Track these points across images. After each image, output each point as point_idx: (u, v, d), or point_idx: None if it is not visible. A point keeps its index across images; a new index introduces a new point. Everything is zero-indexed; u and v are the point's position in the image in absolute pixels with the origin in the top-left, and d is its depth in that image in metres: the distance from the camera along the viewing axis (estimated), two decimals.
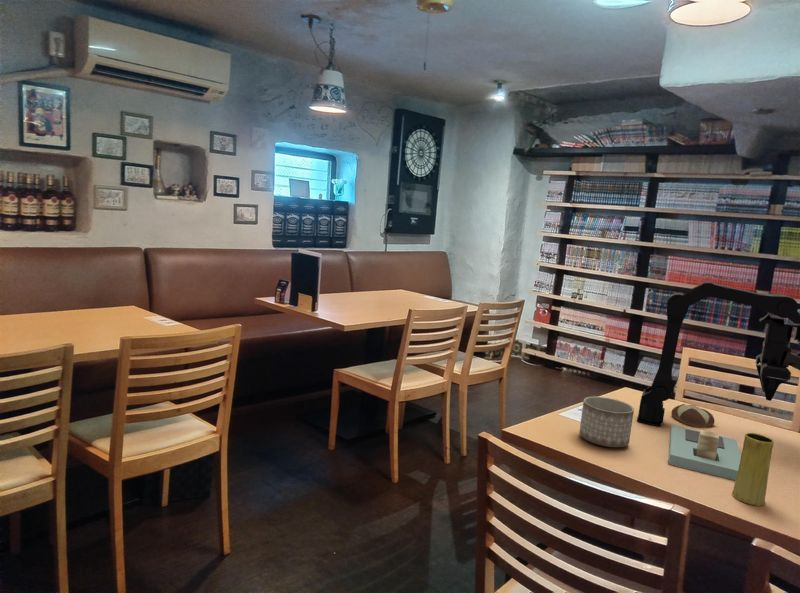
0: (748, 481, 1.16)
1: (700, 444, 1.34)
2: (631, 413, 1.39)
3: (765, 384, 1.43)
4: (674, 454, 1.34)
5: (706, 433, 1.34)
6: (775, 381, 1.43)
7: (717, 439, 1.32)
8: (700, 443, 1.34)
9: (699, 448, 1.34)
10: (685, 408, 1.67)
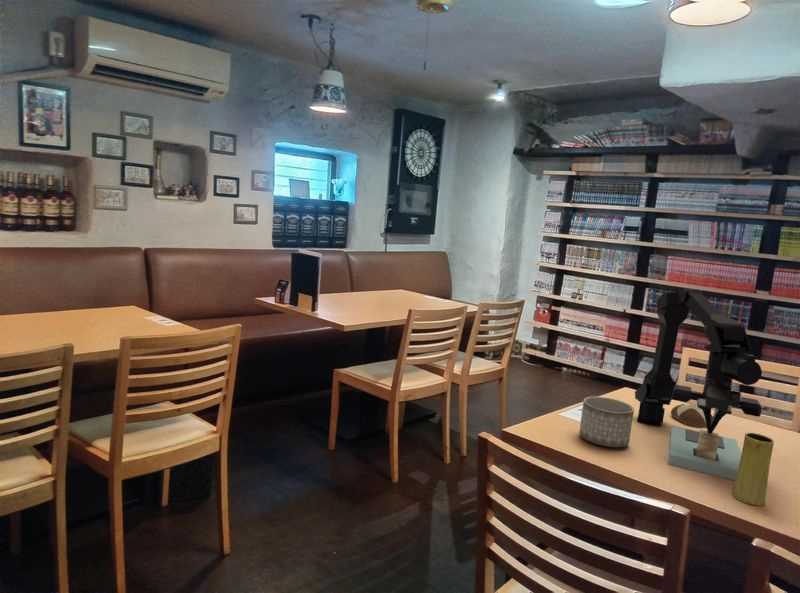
0: (748, 481, 1.16)
1: (700, 444, 1.34)
2: (631, 413, 1.39)
3: None
4: (674, 454, 1.34)
5: (706, 433, 1.34)
6: None
7: (717, 439, 1.32)
8: (700, 443, 1.34)
9: (699, 448, 1.34)
10: (684, 408, 1.67)
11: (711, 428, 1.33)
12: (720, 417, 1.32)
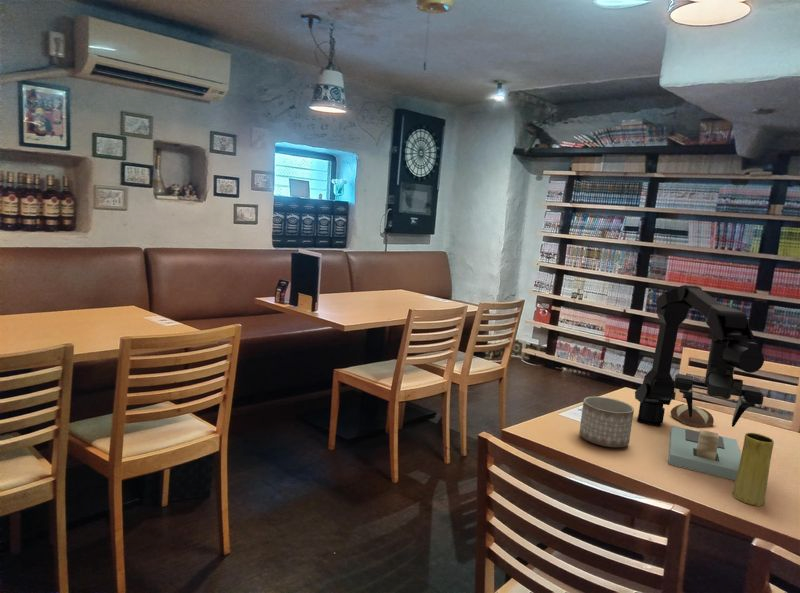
0: (748, 481, 1.16)
1: (700, 444, 1.34)
2: (631, 413, 1.39)
3: None
4: (674, 454, 1.34)
5: (706, 433, 1.34)
6: None
7: (717, 439, 1.32)
8: (700, 443, 1.34)
9: (699, 448, 1.34)
10: (684, 408, 1.67)
11: (734, 421, 1.31)
12: (743, 410, 1.29)
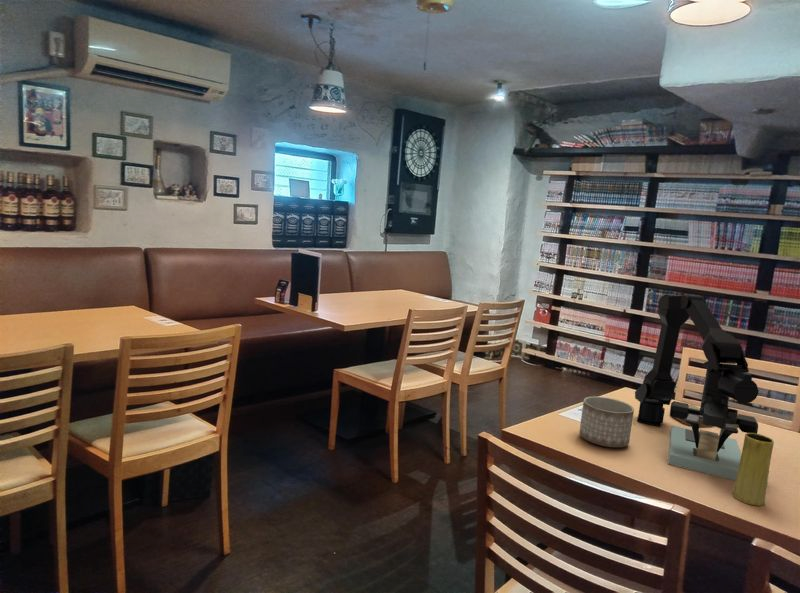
0: (748, 481, 1.16)
1: (700, 444, 1.34)
2: (631, 413, 1.39)
3: None
4: (674, 454, 1.34)
5: (706, 433, 1.34)
6: None
7: (717, 439, 1.32)
8: (700, 443, 1.34)
9: (699, 448, 1.34)
10: None
11: (718, 447, 1.33)
12: (726, 436, 1.31)
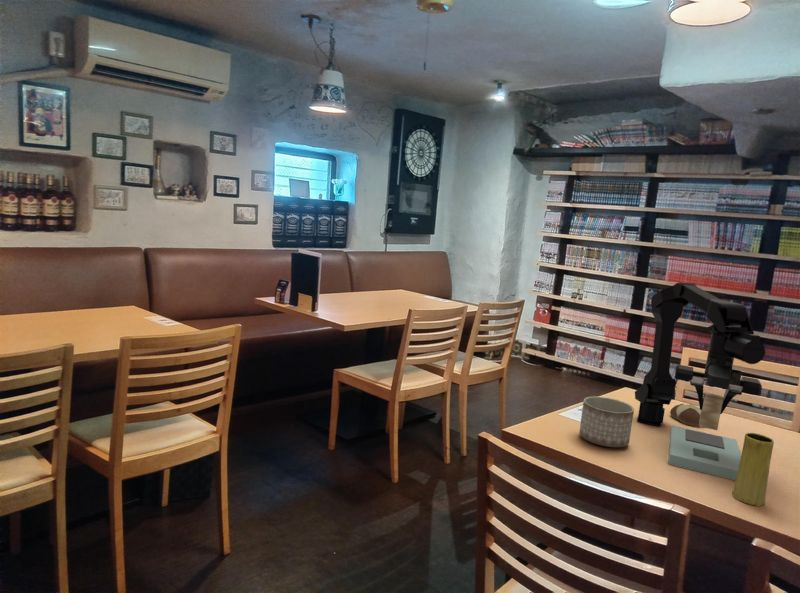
0: (748, 481, 1.16)
1: (704, 406, 1.36)
2: (631, 413, 1.39)
3: None
4: (674, 454, 1.34)
5: (710, 395, 1.37)
6: None
7: (721, 401, 1.34)
8: (704, 405, 1.36)
9: (703, 410, 1.36)
10: (684, 408, 1.67)
11: (721, 409, 1.36)
12: (730, 398, 1.34)
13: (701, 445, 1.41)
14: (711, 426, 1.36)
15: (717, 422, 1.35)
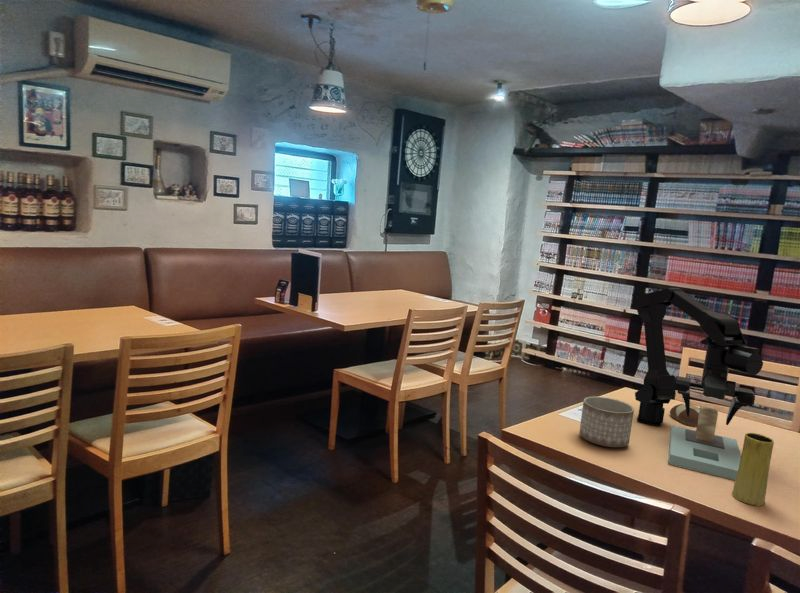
0: (748, 481, 1.16)
1: (700, 419, 1.44)
2: (631, 413, 1.39)
3: None
4: (674, 454, 1.34)
5: (706, 409, 1.45)
6: None
7: (716, 414, 1.42)
8: (700, 418, 1.44)
9: (699, 423, 1.44)
10: (683, 408, 1.67)
11: (728, 420, 1.42)
12: (736, 409, 1.40)
13: (701, 445, 1.41)
14: (707, 438, 1.44)
15: (713, 434, 1.43)
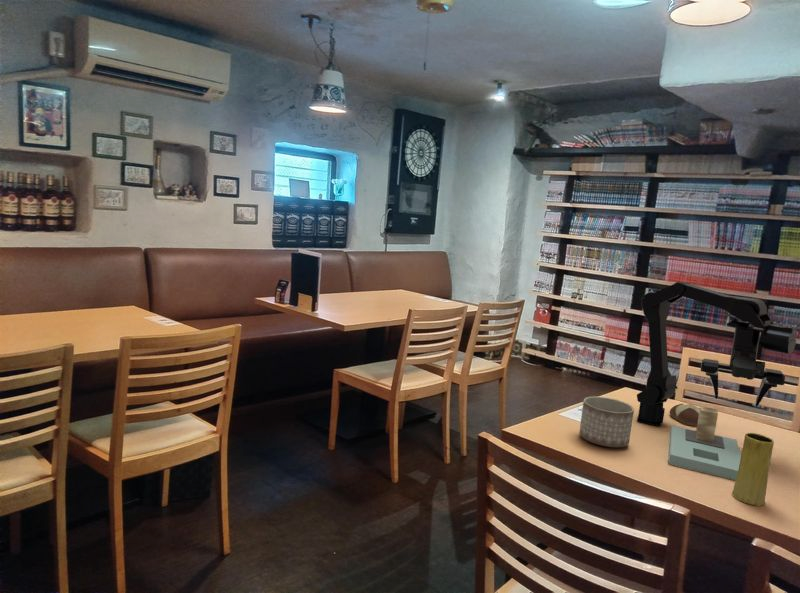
0: (748, 481, 1.16)
1: (700, 419, 1.44)
2: (631, 413, 1.39)
3: None
4: (674, 454, 1.34)
5: (706, 409, 1.45)
6: None
7: (716, 414, 1.42)
8: (700, 418, 1.44)
9: (699, 423, 1.44)
10: (683, 407, 1.67)
11: (757, 401, 1.42)
12: (766, 390, 1.40)
13: (701, 445, 1.41)
14: (707, 438, 1.44)
15: (713, 434, 1.43)
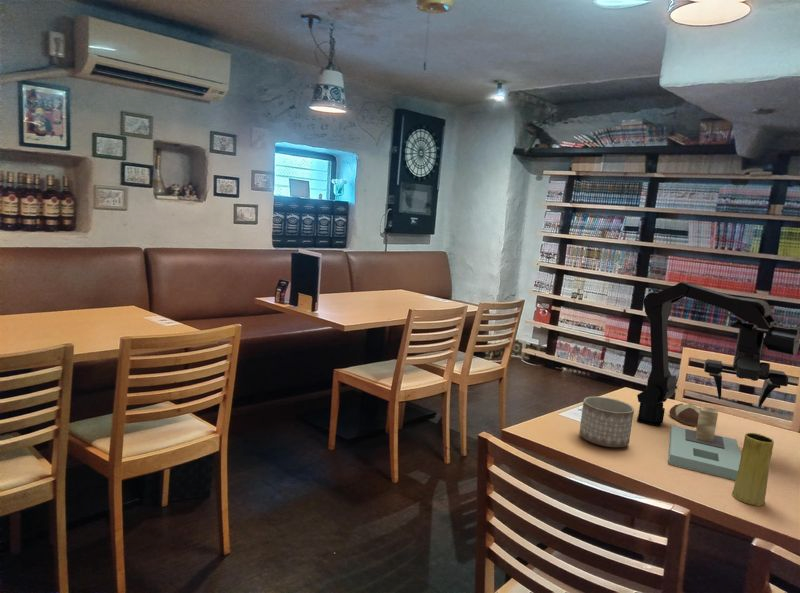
0: (748, 481, 1.16)
1: (700, 419, 1.44)
2: (631, 413, 1.39)
3: None
4: (674, 454, 1.34)
5: (706, 409, 1.45)
6: None
7: (716, 414, 1.42)
8: (700, 418, 1.44)
9: (699, 423, 1.44)
10: (683, 407, 1.67)
11: (760, 402, 1.43)
12: (769, 391, 1.41)
13: (701, 445, 1.41)
14: (707, 438, 1.44)
15: (713, 434, 1.43)
